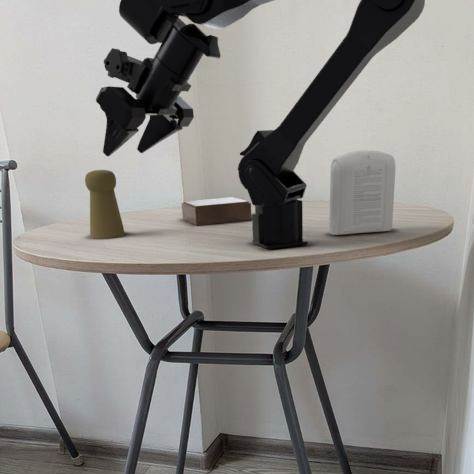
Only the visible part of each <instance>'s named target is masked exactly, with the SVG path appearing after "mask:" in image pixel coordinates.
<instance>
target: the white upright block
mask: <svg viewBox="0 0 474 474" xmlns="http://www.w3.org/2000/svg"><path fill="white" fill-rule="evenodd" d="M394 157H395V156H393V155H392V154H389V153H386V152H383V151H377V150H356V151H350V152H347V153H344V154H341V155H338V156H336V157H334V158H333V159H332V161H331V164H330V174H329V175H330V177H329V179H330V180H329V181H330V182H329V233H330V235H334V236H341V235H353V234H355V235H356V234H368V233H381V232H382V233H383V232H390V231H391V230H392V229H393V218H394V203H395V201H394V200H395V184H396V160H395V158H394Z"/></svg>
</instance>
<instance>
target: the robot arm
mask: <svg viewBox="0 0 474 474" xmlns="http://www.w3.org/2000/svg"><path fill="white" fill-rule="evenodd" d="M274 1H275V0H120V2H119V6H118V12H119V16H120V17H121V19H123V20H124V22H126V23H127V24H128V25H129V26H130V27H131V28H132V29H133V30H134V31H135V32H136V33H137V34H138V35H139V36H141V38H143V39H144V40H145V42H147V43H148V44H149V45H155V44H160V46H159V48H158V50H157V51H156V53H155V55H154V56H153V58H152V57H145V58H144V59H143V60H141V59H138V58H135V57H132V56H130V55H128V53H127V52H126V51H122V50H121V49H119V48H113V47H111V49H110V50H109V52H108V53H107V54H106V57H105V58H104V59H103V64H104V69H105V71H107V76H108V77H109V78H112V79H118V80H120V81H122V82H125V83H128V84H127V86H126V88H127V89H128V90H129V91H130V92H131V93H134V94H135V97H134V96H133V95H132V94H131V93H130V92H129V91H128V90H127V89H126V88H125V87H123V86H112V85H111V86H109V85H107V86H103V87H101V88H100V90H99V91H98V94H97V96H96V98H95V103H97V104H98V105H99V108H100V110H101V111H103V112H104V115H105V118H106V127H105V134H104V142H103V147H102V153H103V154H104V156H106V157H110V156H112V155H113V154H114V153H115V152H117V151H118V150H119V149H120V148H121V147H122V146H124V145H125V144H126V143H127V142H128V141H129V140H130V139H131V138H132V137H134V136H135V135H136V134H137V133H138V132H140V129H139V127H141V126H142V125H143V124H144V122H145V121H146V118H147V116H149V120H148V122H147V124H146V126H145V129H144V131H143V133H142V135H141V137H140V139H139V142H138V145H137V147H136V150H137V151H138V152H139V153H140V154H144V153H145V152H147V151H149V150H150V149H151V148H153V147H154V146H156V145H158V144H160V143H161V142H163V141H164V140H165V139H167V138H169V137H171V136H172V135H174V134H176V133H177V132H180V131H182V130H183V129H184V128H187V127H189V126H190V124H191V123H192V121H193V119H194V118H195V115H194V108H193V107H192V106H191V105H189V104H188V102H186V101H185V99H183V98H182V96H181V94H182V93H183V92H188V93H189V91H190V89H191V88H192V84H191V83H189V81H190V79H191V77H192V75H193V74H194V72H195V71H196V69H197V67H198V66H199V63H200V62H201V60H202V59H203V57H204V56H205V57H206V58H212V59H220V58H221V50H220V47H219V37H218V36H216V35H212V34H210V35H207V34H206V33H205V32H204V31H202V30H201V28H199V27H198V26H197V25H200V26H204V27H207V28H210V29H214V30H222V29H225V28H227V27H228V26H231V25H232V24H234V23H236V22H238V21H240V20H241V19H243V18H244V17H245V16H246V15H248V14H249V13H250V12H251V11H252V10H254V9H255V8H257V7H259V6H261V5H265V4H267V3H271V2H274ZM425 5H426V0H360V1H359V2H358V5H357V7H356V10H355V13H354V15H353V17H352V21H351V24H350V26H349V29H348V30H347V33H346V35H345V36H344V38H343V39H342V40H341V42H340V43H339V45H338V46H337V47H336V49H335V50H334V52H333V53H332V54H331V56H330V57H329V58H328V60H327V61H326V62H325V63H324V64H323V66H322V68H321V69H320V70H319V72H318V73H317V74H316V75H315V77H314V78H313V80H312V81H311V83H310V84H309V85H308V86H307V88H306V89H305V90H304V92H303V93H302V94H301V95H300V97H299V98H298V100H297V101H296V103H295V104H294V105H293V107H292V108H291V109H290V111H289V112H288V114H287V115H286V116H285V117H284V119H283V120H282V122H281V123H280V124H279V125H278V126H277V127H276V128H275V129H264V130H262V129H261V130H257V131H255V133H254V135H253V136H252V139H251V140H250V142H249V144H248V146H247V147H246V148H245V149H244V150H242V151H240V153H239V155H240V156H242V157H241V159H240V161H239V163H238V166H237V171H238V179H239V182H240V184H241V185H242V186H243V188H244V189H245V190H246V191H247V193H248V196H249V199H250V201H251V205H252V206H254V212H252V213H251V219H252V220H251V222H252V223H251V225H252V240H251V242H252V243H253V244H255V245H257V246H259V247H262V248H264V249H267V250H272V249H279V248H289V247H296V246H305V245H306V246H307V245H308V243H309V241H308V240H306V239H304V236H303V235H304V234H303V233H304V229H303V227H304V226H303V225H304V224H303V223H304V222H303V217H304V216H303V215H304V213H303V200H302V199H303V198H304V195H305V192H306V189H307V183H306V182H305V181H304V180H303V179H302V178H301V177H300V176H299V175H298V174H297V173H296V172H295V169H296V167H297V166H298V163H299V161H300V158H301V155H302V153H303V149H304V147H305V145H306V143H307V142H308V140H309V139H310V138H311V137H312V135H313V134H314V133H315V131H316V130H317V129H318V128H319V126H320V125H321V124H322V123H323V121H324V120H325V119H326V117H327V116H328V115H329V114H330V112H332V110H333V109H334V107H335V106H336V105H337V103H339V101H340V100H341V98H342V97H343V96H344V95H345V93H346V92H347V91H348V89H349V88H350V87H351V86H352V84H353V83H354V82H355V81H356V79H357V78H358V77H359V75H360V74H361V73H362V72H363V70H364V69H365V68H366V66H367V65H369V63H370V62H371V60H372V59H373V58H374V57H375V56H376V55H377V54H379V53H380V52H381V51H382V50H383V49H385V48H386V47H388V46H389V45H390V44H391V43H393V42H394V41H395V40H397V39H398V38H399V37H400V36H401V35H403V33H404V32H406V30H407V29H408V28H409V27H411V26H412V25H413V24H414V23H415V22H416V21H417V20H418V19H419V18H420V16H421V14H422V13H423V11H424V8H425ZM180 17H182V18H187V19H188V20H189V21H191V23H188V24H187V23H185V22H184V21H183V20H182V19H181V18H180ZM196 24H197V25H196Z"/></svg>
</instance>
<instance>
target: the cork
mask: <svg viewBox="0 0 474 474" xmlns="http://www.w3.org/2000/svg"><path fill="white" fill-rule="evenodd" d="M84 184H85V187H86V189H87V190H88V191H89V231H90V232H89V234H90V235H89V237H90V238H91V239H97V240H98V239H99V240H100V239H113V238H121V237H123V236H125V235H126V233H125V229H124V224H123V221H122V216H121V213H120V207H119V204H118V201H117V197H116V192H115V188H116V186H117V178H116V175H115V173H114V172H113V171H112V170H109V169H96V170H91V171H89V172H87V173H86V175H85V177H84Z"/></svg>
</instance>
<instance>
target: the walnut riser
mask: <svg viewBox="0 0 474 474" xmlns="http://www.w3.org/2000/svg"><path fill="white" fill-rule="evenodd" d="M181 211H182V213H181V214H182V220H184V221H186V222H188V223H190V224H192V225H195V226H206V225H216V224H217V225H218V224H227V223H237V222H245V221H246V222H247V221H252V202H250V201H248V200H245V199H241V198H237V197H233V196H229V197H219V198H208V199H206V198H205V199H196V200H183V202H181Z"/></svg>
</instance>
